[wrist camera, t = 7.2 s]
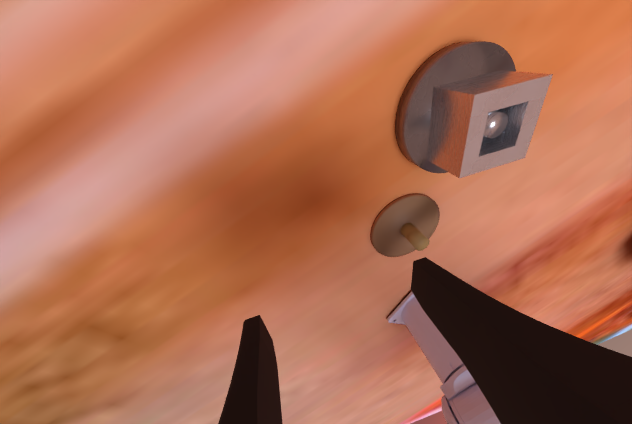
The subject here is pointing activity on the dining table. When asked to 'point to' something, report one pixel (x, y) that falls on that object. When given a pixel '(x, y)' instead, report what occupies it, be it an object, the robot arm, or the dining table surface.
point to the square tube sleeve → (484, 120)
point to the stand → (405, 225)
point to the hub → (439, 71)
